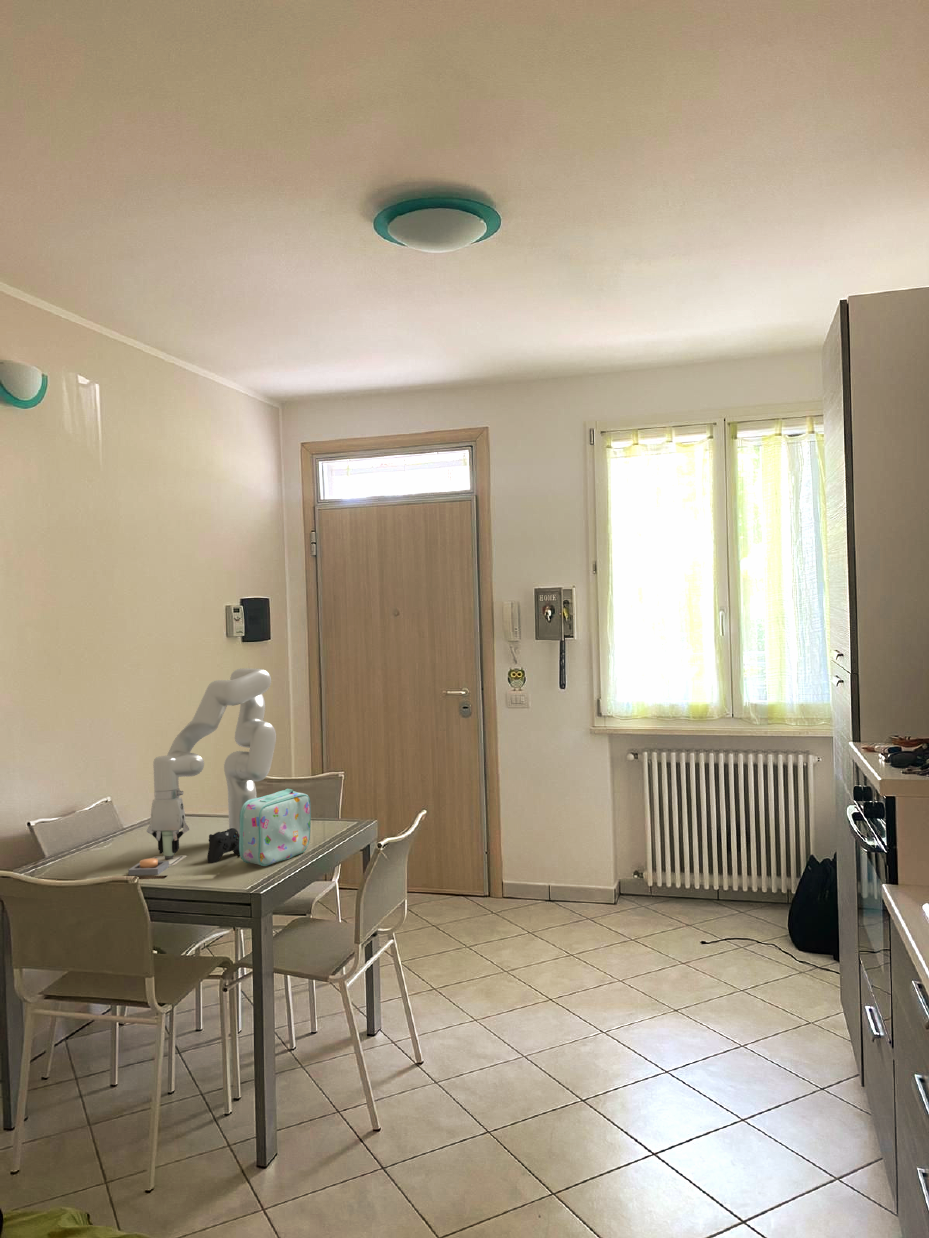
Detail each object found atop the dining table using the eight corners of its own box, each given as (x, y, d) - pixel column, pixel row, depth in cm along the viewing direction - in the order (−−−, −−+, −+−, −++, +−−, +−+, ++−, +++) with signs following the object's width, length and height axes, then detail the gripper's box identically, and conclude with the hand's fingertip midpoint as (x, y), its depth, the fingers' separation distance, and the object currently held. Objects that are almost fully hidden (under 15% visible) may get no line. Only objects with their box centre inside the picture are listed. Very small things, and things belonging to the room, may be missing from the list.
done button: (160, 863, 288) (160, 857, 288) (154, 868, 282) (153, 862, 282) (143, 864, 288) (143, 858, 288) (137, 868, 283) (136, 862, 283)
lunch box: (290, 847, 313) (288, 783, 313) (315, 850, 308) (313, 785, 308) (236, 867, 289) (233, 798, 289) (262, 870, 285) (259, 800, 285)
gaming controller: (216, 867, 290) (215, 835, 290) (202, 865, 294) (201, 833, 294) (249, 857, 302) (248, 826, 302) (235, 855, 306) (234, 824, 306)
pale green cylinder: (176, 856, 301) (175, 828, 301) (172, 859, 297) (171, 831, 297) (165, 856, 301) (164, 829, 301) (161, 860, 298) (159, 831, 298)
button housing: (169, 866, 289) (168, 861, 289) (158, 874, 280) (157, 868, 280) (140, 867, 290) (140, 861, 290) (128, 875, 281) (128, 869, 281)
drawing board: (191, 857, 304) (191, 854, 304) (164, 878, 280) (163, 874, 280) (152, 858, 304) (152, 855, 304) (121, 879, 280) (121, 875, 280)
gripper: (196, 791, 303) (198, 848, 303) (145, 793, 304) (147, 850, 304) (188, 796, 295) (190, 854, 295) (136, 797, 296) (138, 855, 296)
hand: (168, 851), depth 299 cm, fingers closed on pale green cylinder, 3 cm apart
